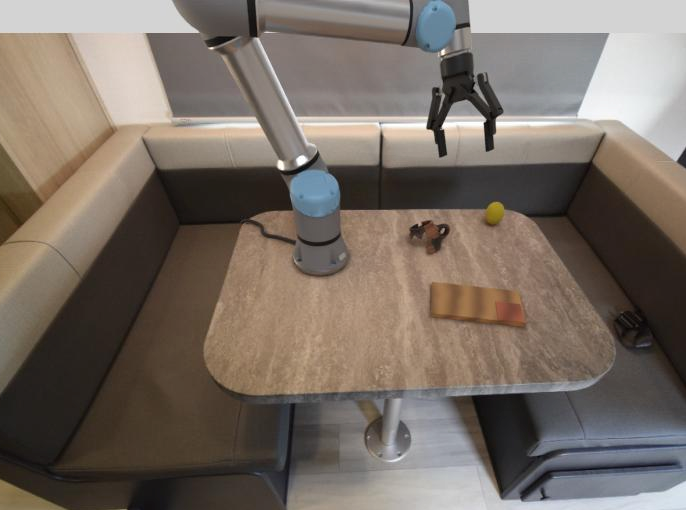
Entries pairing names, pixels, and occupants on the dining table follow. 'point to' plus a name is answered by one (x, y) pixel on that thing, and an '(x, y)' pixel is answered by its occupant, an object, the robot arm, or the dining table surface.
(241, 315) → the dining table surface
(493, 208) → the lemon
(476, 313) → the board
